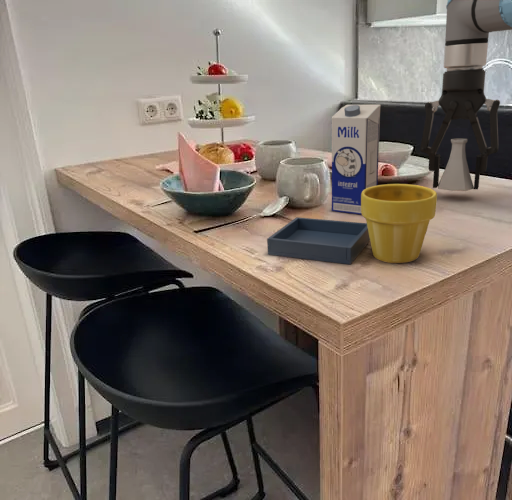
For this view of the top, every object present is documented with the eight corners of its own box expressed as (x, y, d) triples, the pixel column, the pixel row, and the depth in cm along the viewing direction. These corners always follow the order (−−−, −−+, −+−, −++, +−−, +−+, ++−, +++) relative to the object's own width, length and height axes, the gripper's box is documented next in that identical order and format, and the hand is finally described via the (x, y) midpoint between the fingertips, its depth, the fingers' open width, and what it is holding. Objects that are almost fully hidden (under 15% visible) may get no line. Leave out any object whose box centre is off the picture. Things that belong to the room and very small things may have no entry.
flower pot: (400, 274, 68) (404, 204, 64) (345, 255, 76) (346, 192, 72) (446, 256, 73) (452, 190, 70) (390, 239, 81) (393, 180, 78)
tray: (371, 238, 82) (371, 223, 81) (350, 264, 72) (350, 247, 71) (296, 231, 88) (296, 217, 87) (267, 254, 78) (266, 238, 77)
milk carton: (377, 206, 100) (381, 103, 93) (364, 215, 95) (367, 106, 88) (345, 203, 104) (346, 103, 97) (330, 211, 99) (330, 106, 92)
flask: (468, 193, 98) (473, 142, 95) (431, 190, 102) (434, 141, 99) (478, 186, 103) (483, 137, 100) (443, 183, 108) (446, 136, 104)
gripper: (523, 65, 94) (510, 185, 102) (413, 71, 103) (408, 181, 110) (523, 65, 88) (509, 193, 95) (406, 72, 97) (402, 189, 104)
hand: (455, 187), depth 103 cm, fingers closed on flask, 7 cm apart
